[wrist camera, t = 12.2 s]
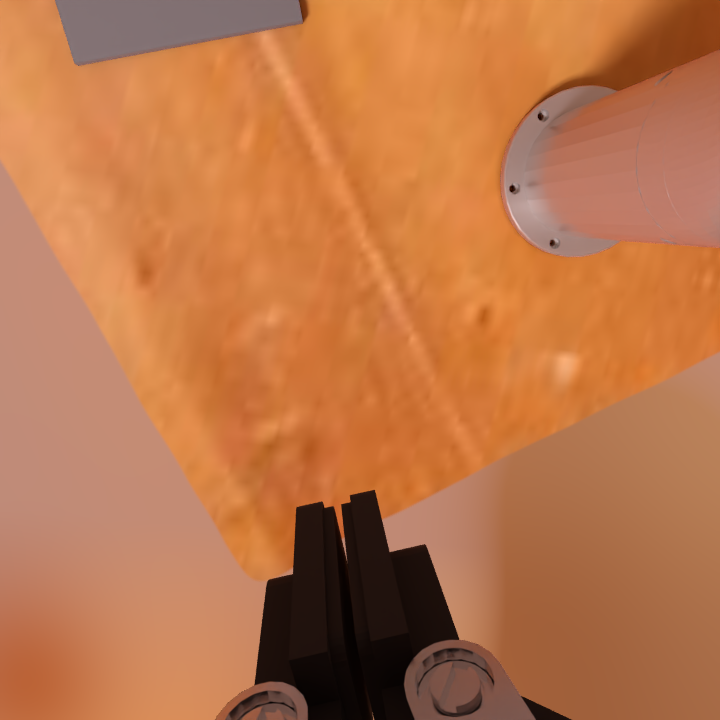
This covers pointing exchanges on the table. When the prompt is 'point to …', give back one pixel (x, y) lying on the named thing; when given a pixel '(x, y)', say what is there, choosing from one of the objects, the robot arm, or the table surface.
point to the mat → (164, 24)
